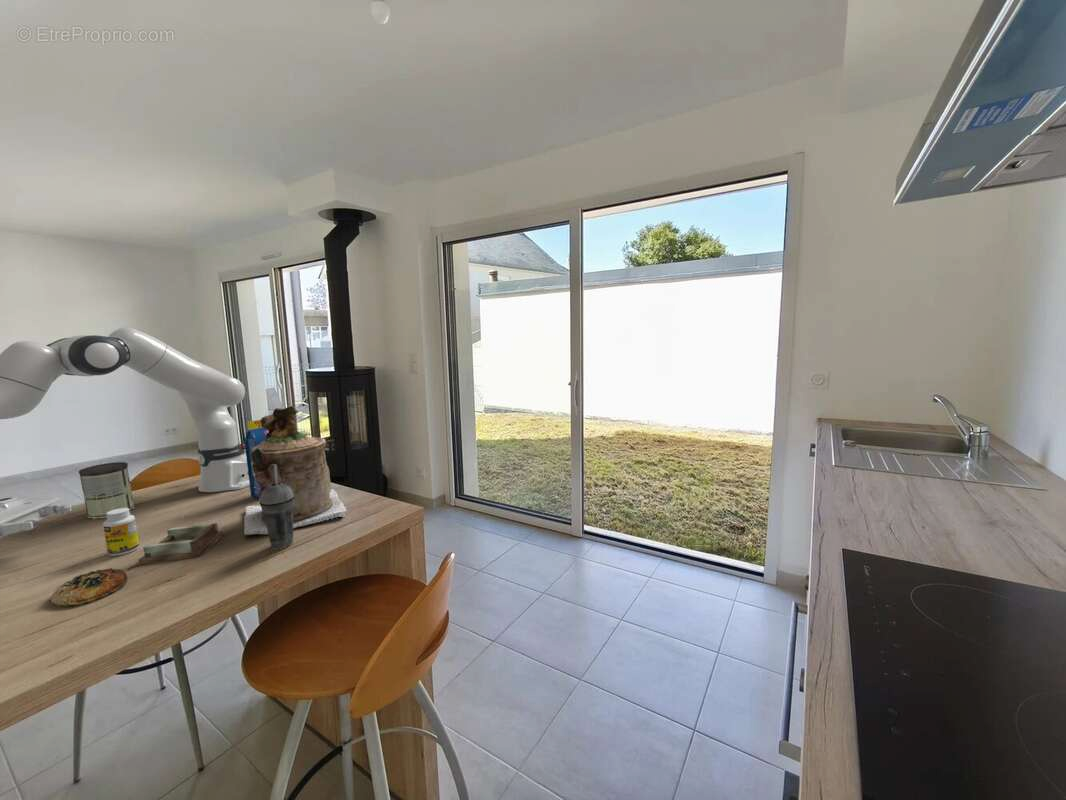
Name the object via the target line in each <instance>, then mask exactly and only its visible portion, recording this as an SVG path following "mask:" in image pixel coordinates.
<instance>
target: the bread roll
mask: <svg viewBox="0 0 1066 800" xmlns="http://www.w3.org/2000/svg"><path fill="white" fill-rule="evenodd" d="M127 581H128V575H127V573H126V572H125V571H124V570H123V569H120V568H111V567H108V568H106V569H97V570H95V571H94V570H92V571H88V572H87V573H83V574H80V575H77V576H74V577H73V578H72V579H71V580H68V581H66V582H64V583H62V584H60V585H59V586H58V587H56V589H55V590H54V591H53V593H52V595H51V600H50V601H51V602H52V604H54V605H56V604H57V605H58V607H68V606H82V605H85V603H86V604H89V602H90V603H93V602H95V600H96V601H98V600H100V598H101V599H103V598H105V596H106V597H108V596H110V595H111V594H113V593H114V592H117V590H118V591H119V590H121V588H123V587H124V586H125V585H126V584H127ZM92 601H93V602H92ZM57 605H56V606H57Z"/></svg>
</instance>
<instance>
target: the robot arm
mask: <svg viewBox="0 0 1066 800" xmlns="http://www.w3.org/2000/svg"><path fill="white" fill-rule="evenodd" d="M122 366H125V367H128V368H130V369H132V370H133V371H135V372H137V373H139V374H141V375H143V376H145V377H147V378H149V379H150V380H152V381H154V382H156V383H159V384H160V385H163V386H164V387H166V388H169V389H171V390H175V391H178V393H179V396H180V398H181V399H182V400H183V401H184V402H185V404H186V406H187V408H188V410H189V413H190V415H191V418H192V420H193V423H194V425H195V430H196V436H197V437H196V438H197V444H198V449H197V455H198V456H197V458H198V463H199V466H200V479H199V485H198V489H197V490H198V491H199V492H203V493H217V492H218V493H219V492H225V491H236V490H237V491H238V490H240V489H244V488H247V487H250V483H249V475H248V467H247V458H246V450H245V443H243V444H242V443H240V442H239V439H238V432H237V431H238V430H237V423H236V421H235V420H234V418H232V416H231V415H230V413H229V411H228V409H227V408H230V407H233V406H237V405H239V404H240V403H241V402H242V401H243V399H245V395H246V388H245V386H244V384H243V382H241V381H240V380H239V379H238V378H234V377H232V376H230V375H227V374H225V373H223V372H221V371H220V370H217V369H215V368H213V367H211V366H208V365H206V364H204V363H201V362H200V361H197V360H195V359H193V358H191V357H188V356H187V355H185V354H184V353H182V352H181V351H179V350H177V349H175V348H174V347H171V346H170V345H168V344H167V343H166V342H163V341H162V340H160V339H158V338H156V337H154V336H152V335H150V334H148V333H145V332H144V331H141V330H138V329H135V328H132V327H127V326H126V327H121V328H117V329H115V330H114V331H112V332H111V333H109V335H108V336H104V335H84V334H83V335H82V334H81V335H73V336H70V337H63V338H61V339H57V340H56V341H52V342H50V343H48V344H46V345H45V344H43V343H40V342H35V341H30V340H29V341H28V340H27V341H25V340H22V341H16V342H13V343H12V344H10V345H9V346H8V347H6V348H5V349H4V350H3V351H2V352H0V420H9V419H15V418H18V417H19V418H20V417H21V416H24V415H27V414H29V413H31V412H32V411H33V410H34V409H35V408H36V407H37V406H38V405H39V404H40V403H41V401H42V400H43V399H44V397H45V396H46V394H47V392H48V390H49V389H50V387H51V386H52V384H53V382H55V381H56V380H57V379H58V378H59V377H61V376H62V375H67V376H74V377H75V376H76V377H77V376H78V377H92V376H93V377H94V376H104V375H108V374H111V373H113V372H115V371H116V370H118V369H120V368H121V367H122ZM72 509H73V508H72V506H71V505H70V504H66V505H65V504H62V500H61V498H59V497H58V496H56V497H54V496H42V497H41V496H39V497H26V498H25V497H24V498H20V499H19V497H18V496H11V497H10V496H9V497H6V498H1V499H0V539H1V538H3V537H6V536H8V535H11V534H14V533H19V532H24V531H30V530H33V529H36V528H37V527H38V524H37V523H38V522H40V521H42V520H45V519H46V518H49V517H52V516H54V515H56V514H57V515H66V514H68V513H71V512H72Z"/></svg>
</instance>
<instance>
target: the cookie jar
mask: <svg viewBox="0 0 1066 800" xmlns="http://www.w3.org/2000/svg"><path fill="white" fill-rule="evenodd" d="M298 412H299V410H297V409H295V407H294V406H293V405H289V406H287V407H285V408H281V407H277V408H274V410H273V411H272V414H269V415H264V416H263V417H261V419H260V420H261V424H262V427H263V428H264V429H267V430H269V432H268V433H267V435H266V439H265V440H264V441H262V442H261V443H260V444H259V445H258V446H256V447H254V448H253V449H251V452H250V458H251V461H252V462H253V466H252V467H253V471H254V472H255V475H254V478H255V479H256V482H257V483H258V484H259V485H260V494H259V499H258V500H259V503H260V497H261V494H262V492H263V491H264V489H265V488H266V487H268V486H269V485H271V484H274V483H275V473H274V465H275V464H276V468H277V481H278V483H283V484H286V485H287V486H289V487H290V488H291V490H292V491H293V495H294V505H293V529H296V528H299V527H304V526H307V525H312V524H317V523H320V522H321V523H322V522H326V521H330V520H329V519H331V520H334V519H333V518H336V519H338V518H337V517H342V516H345V514H346V512H347V508H346V507H345V505H344V503H343V502H342V501H341V499H339V495H338V492H336V491H335V489H332V483H331V477H330V473H331V472H330V468H329V466H328V463H327V460H326V457H327V456H326V451H325V447H326V446H327V445H326V444H327V442H326V439H325V438H323V437H314V436H308V435H306V434H305V433H303V432H301V431H298V430H297V428H296V423H295V422H296V420H295V415H296V414H297V413H298ZM244 511H245V512H244V513H245V515H244V517H243V519H244V521H243V522H244V530H243V533H244V536H245V537H246V536H249V535H268V531H267V526H266V522H265V517H264V513H263V511H262V508H261V505H260V504H259V505H248V506H246V507H245V508H244ZM325 520H326V521H325Z"/></svg>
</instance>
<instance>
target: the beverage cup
mask: <svg viewBox="0 0 1066 800" xmlns="http://www.w3.org/2000/svg"><path fill="white" fill-rule="evenodd" d="M274 473H275V483H274V484H271V485H269V486H268V487H266V488H265V489H264V491H263V492H262V494H261V497H260V502H259V506H260V505H261V508H262V511H263V513H264V517H265V522H266V526H267V531H268V534H267V535H268V539H269V543H270V545H271V549H272V548H273V549H272V550H274V549H280V548H284V547H287V546H289V545H291V544H292V543H294V528H293V505H294V495H293V491H292V490H291V488H290V487H289V486H287V485H286V484H283V483H278V481H277V468H276V464H275V465H274ZM292 545H293V544H292ZM292 545H291V546H292ZM289 547H290V546H289ZM287 548H288V547H287ZM284 549H285V548H284ZM280 550H281V549H280Z"/></svg>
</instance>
